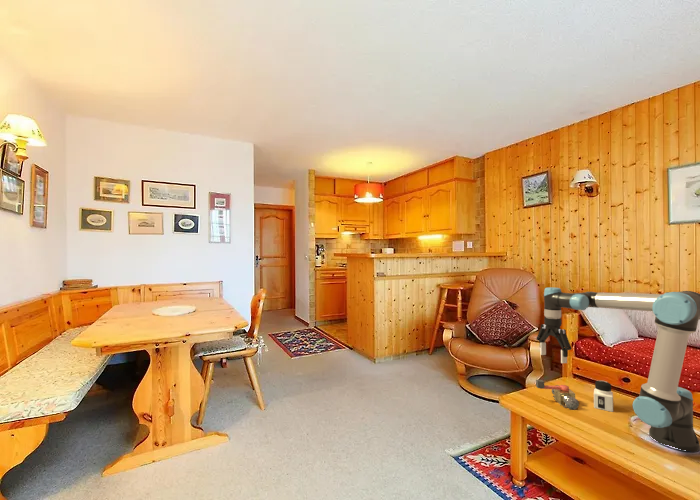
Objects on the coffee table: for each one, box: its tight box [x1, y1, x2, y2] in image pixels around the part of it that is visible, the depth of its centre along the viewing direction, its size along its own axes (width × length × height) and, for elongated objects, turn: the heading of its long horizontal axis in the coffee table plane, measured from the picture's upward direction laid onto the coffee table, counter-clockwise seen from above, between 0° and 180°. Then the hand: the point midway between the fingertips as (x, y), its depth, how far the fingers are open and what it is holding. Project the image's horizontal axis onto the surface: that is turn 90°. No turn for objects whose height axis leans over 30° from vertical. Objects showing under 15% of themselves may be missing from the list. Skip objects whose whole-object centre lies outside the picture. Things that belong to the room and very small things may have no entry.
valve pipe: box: [551, 384, 580, 411], centre depth 175 cm, size 16×7×6 cm, turn 171°
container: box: [593, 380, 614, 413], centre depth 170 cm, size 8×8×13 cm
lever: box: [535, 379, 570, 391], centre depth 176 cm, size 16×4×4 cm, turn 81°
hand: (553, 358), depth 170 cm, fingers open, 13 cm apart
